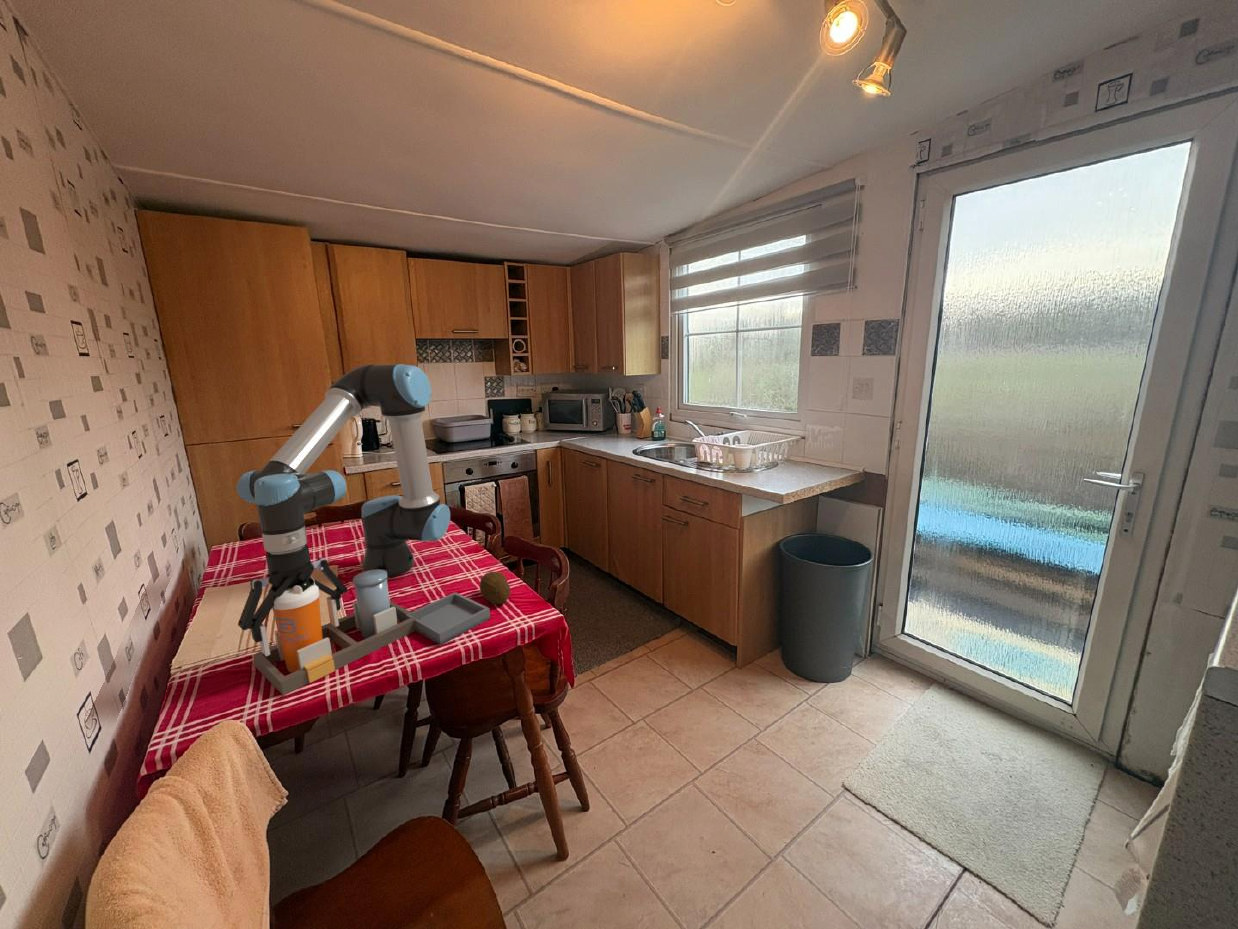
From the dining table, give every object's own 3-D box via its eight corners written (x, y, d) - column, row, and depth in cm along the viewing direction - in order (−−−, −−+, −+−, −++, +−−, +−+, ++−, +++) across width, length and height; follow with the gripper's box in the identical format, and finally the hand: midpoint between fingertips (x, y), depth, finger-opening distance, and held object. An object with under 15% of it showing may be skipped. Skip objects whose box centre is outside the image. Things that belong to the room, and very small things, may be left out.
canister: (354, 632, 119) (347, 577, 115) (383, 619, 125) (377, 567, 121) (369, 643, 114) (362, 586, 111) (399, 629, 120) (393, 574, 117)
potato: (492, 612, 128) (491, 586, 126) (471, 595, 137) (470, 570, 135) (519, 602, 133) (518, 576, 132) (497, 586, 142) (496, 562, 140)
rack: (255, 666, 106) (249, 638, 104) (388, 609, 130) (385, 585, 128) (284, 696, 96) (278, 666, 95) (422, 628, 120) (419, 603, 119)
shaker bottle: (296, 652, 111) (282, 572, 106) (336, 650, 112) (324, 570, 107) (272, 677, 102) (256, 591, 98) (316, 675, 103) (302, 590, 98)
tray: (406, 625, 122) (405, 614, 121) (456, 602, 133) (455, 592, 133) (440, 645, 113) (439, 634, 113) (490, 618, 125) (489, 608, 124)
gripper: (218, 573, 89) (239, 674, 94) (356, 534, 108) (367, 618, 113) (206, 563, 93) (226, 660, 98) (340, 527, 113) (352, 609, 117)
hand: (302, 638), depth 106 cm, fingers open, 13 cm apart
